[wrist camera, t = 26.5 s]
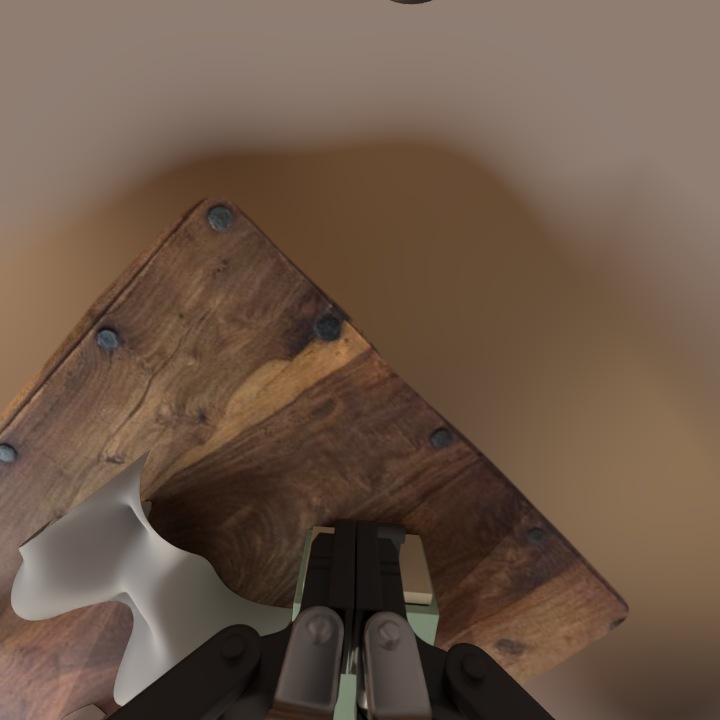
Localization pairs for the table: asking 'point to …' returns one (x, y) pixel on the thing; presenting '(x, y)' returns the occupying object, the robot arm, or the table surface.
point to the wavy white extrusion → (86, 714)
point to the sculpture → (132, 582)
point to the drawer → (401, 561)
